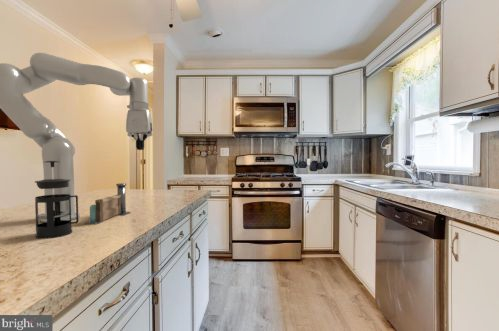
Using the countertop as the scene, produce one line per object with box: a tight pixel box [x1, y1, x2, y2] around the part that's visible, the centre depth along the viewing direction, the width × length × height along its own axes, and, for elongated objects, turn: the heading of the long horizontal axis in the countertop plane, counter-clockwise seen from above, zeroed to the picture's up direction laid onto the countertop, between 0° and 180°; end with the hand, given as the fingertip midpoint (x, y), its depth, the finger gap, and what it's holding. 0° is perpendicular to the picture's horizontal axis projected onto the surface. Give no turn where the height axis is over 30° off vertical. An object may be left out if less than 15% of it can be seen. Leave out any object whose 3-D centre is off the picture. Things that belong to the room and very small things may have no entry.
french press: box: [34, 161, 80, 240], centre depth 84 cm, size 12×9×23 cm
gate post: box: [115, 182, 131, 216], centre depth 113 cm, size 5×5×13 cm
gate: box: [94, 194, 121, 223], centre depth 104 cm, size 14×2×8 cm, turn 177°
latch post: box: [84, 204, 104, 225], centre depth 98 cm, size 4×4×7 cm
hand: (140, 149), depth 118 cm, fingers closed
